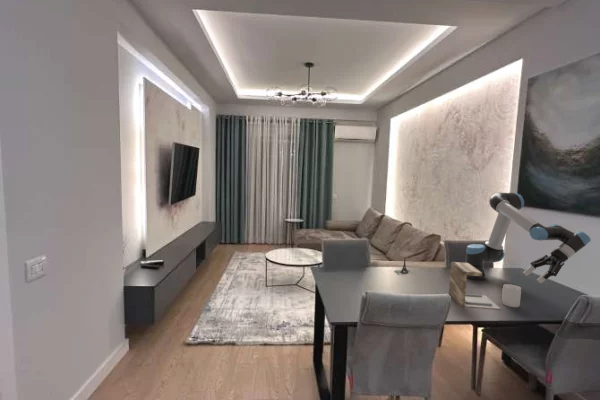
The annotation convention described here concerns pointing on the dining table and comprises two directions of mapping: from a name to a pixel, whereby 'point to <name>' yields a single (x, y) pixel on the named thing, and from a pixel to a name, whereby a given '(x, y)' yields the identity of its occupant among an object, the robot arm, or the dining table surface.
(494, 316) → the dining table surface
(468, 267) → the overhang shelf
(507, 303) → the mug
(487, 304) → the seat plate
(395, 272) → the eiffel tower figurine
